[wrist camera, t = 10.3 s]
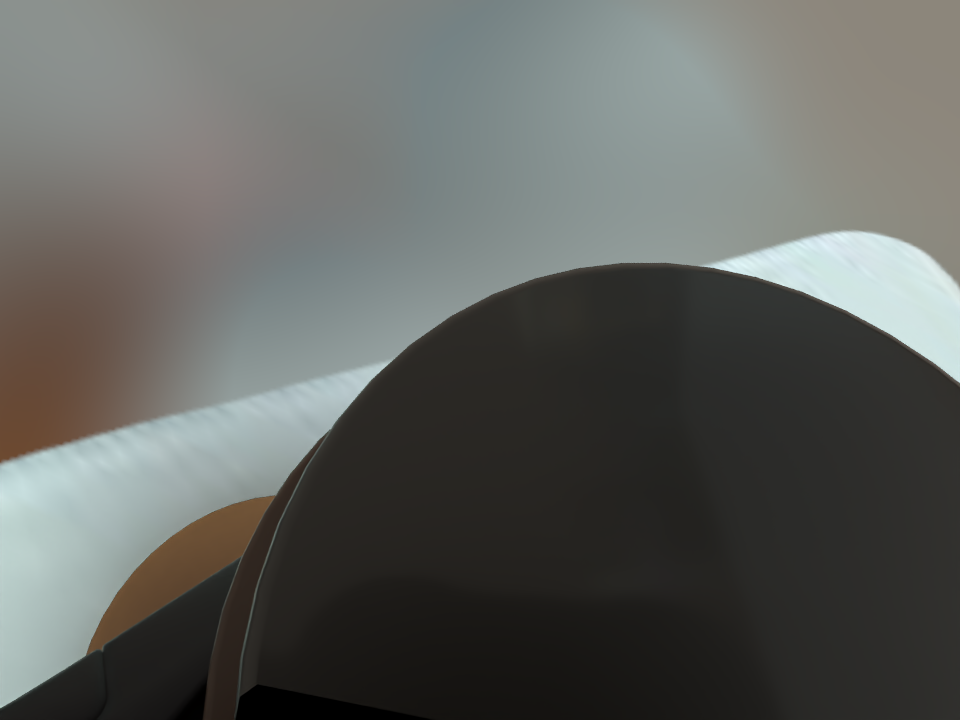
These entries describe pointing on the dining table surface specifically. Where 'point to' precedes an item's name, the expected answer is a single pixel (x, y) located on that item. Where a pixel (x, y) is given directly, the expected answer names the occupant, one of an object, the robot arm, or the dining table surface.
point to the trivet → (181, 565)
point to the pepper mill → (616, 520)
